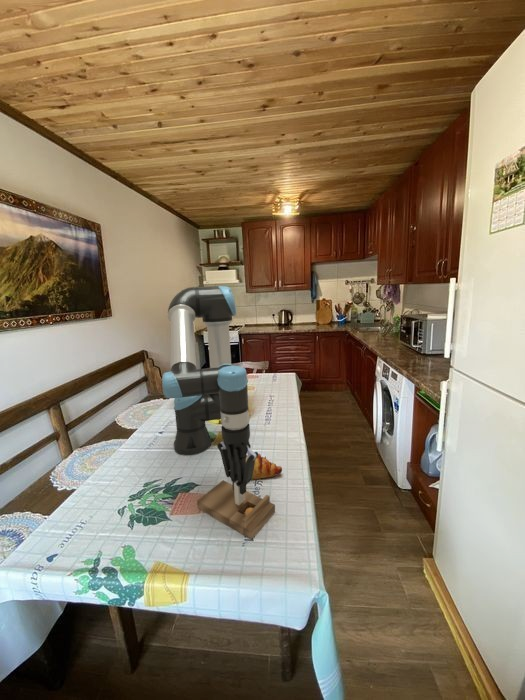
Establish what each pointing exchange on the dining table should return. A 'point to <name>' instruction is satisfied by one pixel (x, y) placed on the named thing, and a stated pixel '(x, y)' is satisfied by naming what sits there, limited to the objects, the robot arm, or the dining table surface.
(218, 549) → the dining table surface
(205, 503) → the wooden tray with slot
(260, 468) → the croissant
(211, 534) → the dining table surface
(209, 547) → the dining table surface
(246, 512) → the ball
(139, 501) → the dining table surface
